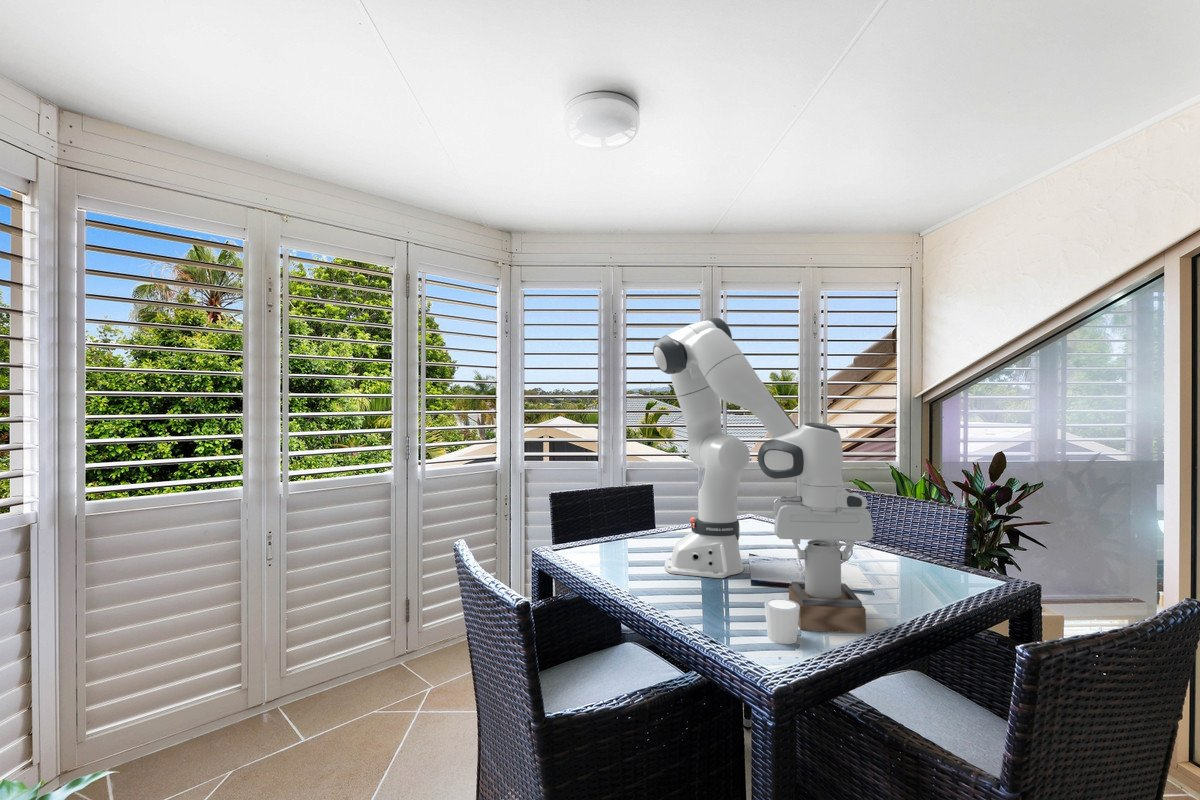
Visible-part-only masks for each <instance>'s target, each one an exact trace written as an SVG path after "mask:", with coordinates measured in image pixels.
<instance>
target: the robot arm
mask: <svg viewBox="0 0 1200 800" xmlns="http://www.w3.org/2000/svg"><path fill="white" fill-rule="evenodd" d="M653 344H654V345H653V348H652V349H653V350H652V353H653V358H654V361H655V363H656V365H657V368H658V369H660V370H661V372H663V373H665V374H666V375H667V374H668V375H670V378H671V382H672V387H673V390H674V393H675V396H676V398H677V402H678V405H679V408H680V411H681V413H682V416H683V419H684V423H685V428H686V433H687V434H686V435H687V441H688V445H687V455H688V457H689V458H690V460H691V461H692V462H693V463H695V465H696V466H698V467H699V468H701V469H704V476H703V480H702V484H701V487H699V490H698V492H697V493H698V495H697V499H698V501H697V503H698V505H697V508H698V509H697V510H698V513H697V514H698V517H697V518H696V517H694V516H693V517H691V518H690V519H689V523H690V527H691V528H690V529H691V531H690V532H689V533H687V534H686V535H685V536H683V537H682V538H680V539H679V540H677V541H676V542H675V544H674V546H673V549H672V553H671V556H670V557H668V558H667V559H666V560H665V562H664V569H665V571H666V572H667V573H670V574H673V575H682V576H694V577H695V576H696V577H705V578H714V579H725V578H726V577H730V576H734V575H737V574H740V573H742V572H744V569H745V568H744V565H743V562H742V556H741V551H740V543H739V540H740V536H741V535H740V531H741V530H740V527H741V526H740V521H739V519H738V493H739V487H740V483H741V478H742V475H743V472H744V470H745V469H746V467H748V464H749V462H750V459H751V453H750V449H749V447H748V445H747V444H746V443H745V442H744V441H743V440H741V439H740V438H738V437H737V436H735V435H732V434H726V433H724V431H723V429H722V420H721V414H722V411H723V409H722V404H721V401H720V399H721V400H722V401H724V402H725V403H729V404H732V405H735V406H737V407H740V408H743V409H745V410H747V411H748V412H750V413H752V414H753V415H754V416H755V417H756V418H757V419H758V420H759V422H761V424H762V426H763V427H764V428H765V430H766V431H767V432H768V434H769V435H770V436H771V437H772V438H771V439H769V440H766V441H764V442H763V443H762V445H761V446H760V447H759V449H758V452H757V462H758V466H759V467H760V470H761V471H762V473H764V474H765V476H767V477H769V478H771V479H774V480H787V479H792V478H798V479H799V481H800V496H794V495H793V496H786V495H785V496H783V495H782V496H780V497H778V498H776V499H774V501H773V504H772V508H773V509H772V512H773V514H774V516H775V517H774V528H773V529H774V530H773V531H774V534H775V536H776V537H777V538H778V539H780V540H791V543H792V544H793V546H794V548H795V549H796V550H797V551H796V552H797V553H796V554H797V559H798V560H805V559H806V556H805V555H806V552H805V549H801V547H800V545H801V540H804V541H805V540H808V541H810V540H827V541H844V543H845V547H844V549H843V550H840V551H841V562H843V561H844V562H845V561H848V562H849V561H850V559H849V558H850V556H849V555H850V553H851V551H852V550H853V548H854V546H855V542H856V541H860V542H870V541H871V540H872V539H873V537H874V528H873V527H874V526H873V520H872V515H871V513H870V511H869V510H868V509H867V507H868V500H867V498H866V497H865V496H864V495H861V494H858V493H856V492H853V491H851V490H849V489H847V490H846V489H844V480H843V477H842V470H843V466H844V453H843V445H842V444H843V443H842V438H841V434H840V432H839V430H838V429H837V428H836V427H834V426H832V425H829V424H825V423H818V422H805V423H803V424H802V425H800V427H798V425H796V424H795V422H794V421H793V420H792V419H791V417H790V415H789V414H788V413H787V412H786V410H785V409H784V408H783V407H782V405H781V404H780V403H779V401H778V400H777V399H776V397H775V396H774V395H773V394H772V393H771V391H770V390H769V389H768V388H767V386H766V385H765V384H764V382H763V381H762V380H761V378H760V377H759V375H758V374H757V373H756V371H755V370H754V368H753V367H752V365H751V363H750V362H749V360H748V359H747V358H746V356H745V354H744V353H743V352H742V350H741V349H740V348H739V347H738V345H737V344H736V342H734V340H733V335H732V331H731V328H730V327H729V325H728V324H727V323H726V322H725V321H724V320H723V319H722V318H718V317H712V318H710V317H709V318H706V319H704V320H702V321H699V322H695V323H691V324H688V325H686V326H684V327H682V328H680V329H677V330H676V331H673V332H672V333H670V334H668V335H666V334H665V335H663V336H661V338H659V339H657V340H655V342H654V343H653Z"/></svg>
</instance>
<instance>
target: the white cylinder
mask: <svg viewBox="0 0 1200 800" xmlns="http://www.w3.org/2000/svg"><path fill="white" fill-rule="evenodd" d="M799 609H800V606H799V604H798V603H796V602H794V601H791V600H789V599H786V598H777V597H776V598H768V599H766V600H765V601H764V611H765V623H766V631H767V638H768V639H769V640H770V641H772V642H774V643H776V644H781V645H791V644H794V643H796V642H797V640H798V632H799V631H798V629H799V626H798V621H799Z"/></svg>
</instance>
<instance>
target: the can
mask: <svg viewBox="0 0 1200 800" xmlns="http://www.w3.org/2000/svg"><path fill="white" fill-rule="evenodd" d="M838 546H839V545H838V543H836V542H835V541H833V540H808V541H807V545H806V546H805V547H804V550H805V552H806V555H805V556H806V559H804V582H805V592H806V593H807V594H808V595H809V596H810V597H811V598H820V599H838V598H839V597H840V596H841V583H842V561H841V551H842V550H840V548H839V547H838Z"/></svg>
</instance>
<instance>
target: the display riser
mask: <svg viewBox="0 0 1200 800" xmlns="http://www.w3.org/2000/svg"><path fill="white" fill-rule="evenodd" d="M788 600H791V601H794V602H796V603H798V604H799V606H800V609H799V621H798V629H799V630H800V631H811V632H812V631H814V632H815V631H816V632H817V631H818V632H834V633H835V632H836V633H837V632H839V633H855V634H856V633H857V634H866V632H867V623H866V622H867V620H866V618H867V616H866V615H867V614H866V608H865V606H864V605H863V601H861V599H860V598H859V597H858V596H857V595H856V593H855V592H854V591H853V590H852V589H851V588H850V586H849V585H847V584H846V583H844V582H843V583H842V582H841V596H840V597H839V598H838V599H820V598H811V597H810V596H809V595H808V594H807V593H806V592H805V581H791V585H789V586H788Z"/></svg>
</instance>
